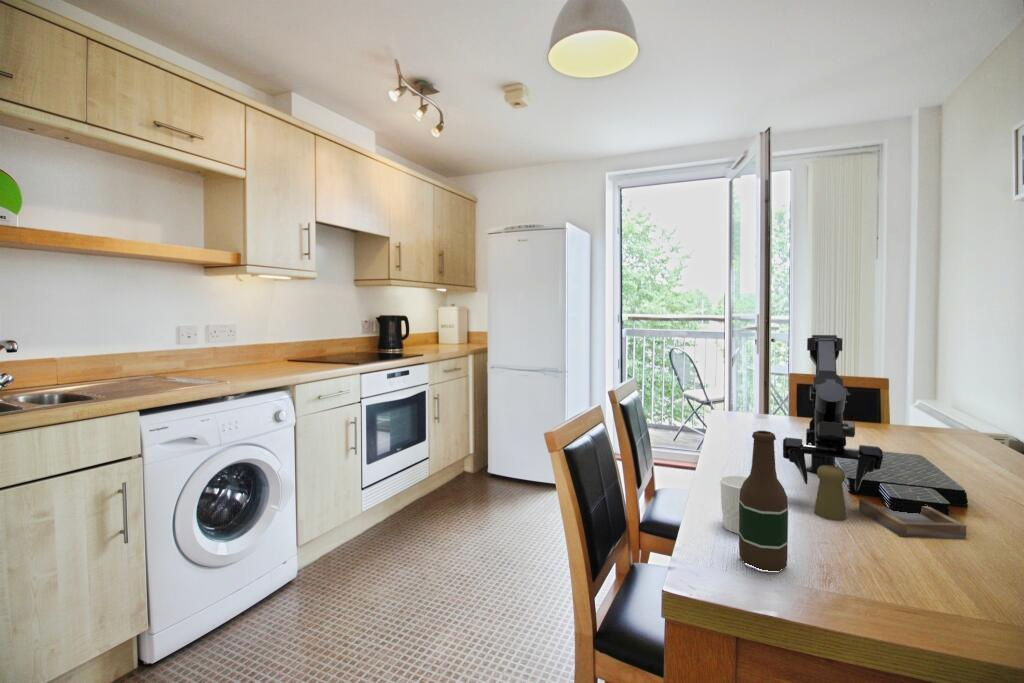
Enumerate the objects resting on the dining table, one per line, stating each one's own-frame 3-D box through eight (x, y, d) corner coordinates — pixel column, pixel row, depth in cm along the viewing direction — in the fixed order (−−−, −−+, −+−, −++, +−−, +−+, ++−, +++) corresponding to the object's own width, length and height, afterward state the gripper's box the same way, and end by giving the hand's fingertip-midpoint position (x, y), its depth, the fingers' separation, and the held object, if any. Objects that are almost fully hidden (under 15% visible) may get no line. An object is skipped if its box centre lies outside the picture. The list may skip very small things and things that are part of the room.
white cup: (758, 522, 102) (758, 477, 101) (764, 539, 94) (765, 490, 94) (718, 518, 104) (718, 473, 104) (721, 533, 97) (722, 486, 96)
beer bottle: (786, 579, 80) (788, 440, 79) (736, 566, 84) (737, 434, 83) (787, 558, 87) (789, 430, 85) (741, 548, 91) (742, 425, 89)
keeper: (859, 509, 107) (859, 498, 107) (916, 511, 106) (916, 499, 106) (900, 536, 94) (900, 524, 94) (965, 538, 93) (966, 525, 93)
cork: (852, 521, 101) (853, 471, 101) (821, 519, 102) (821, 470, 102) (838, 510, 107) (839, 462, 107) (809, 508, 108) (810, 461, 108)
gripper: (783, 403, 112) (781, 462, 103) (882, 410, 102) (890, 475, 93) (783, 429, 119) (782, 486, 110) (876, 438, 109) (882, 501, 101)
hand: (831, 486), depth 103 cm, fingers open, 9 cm apart
